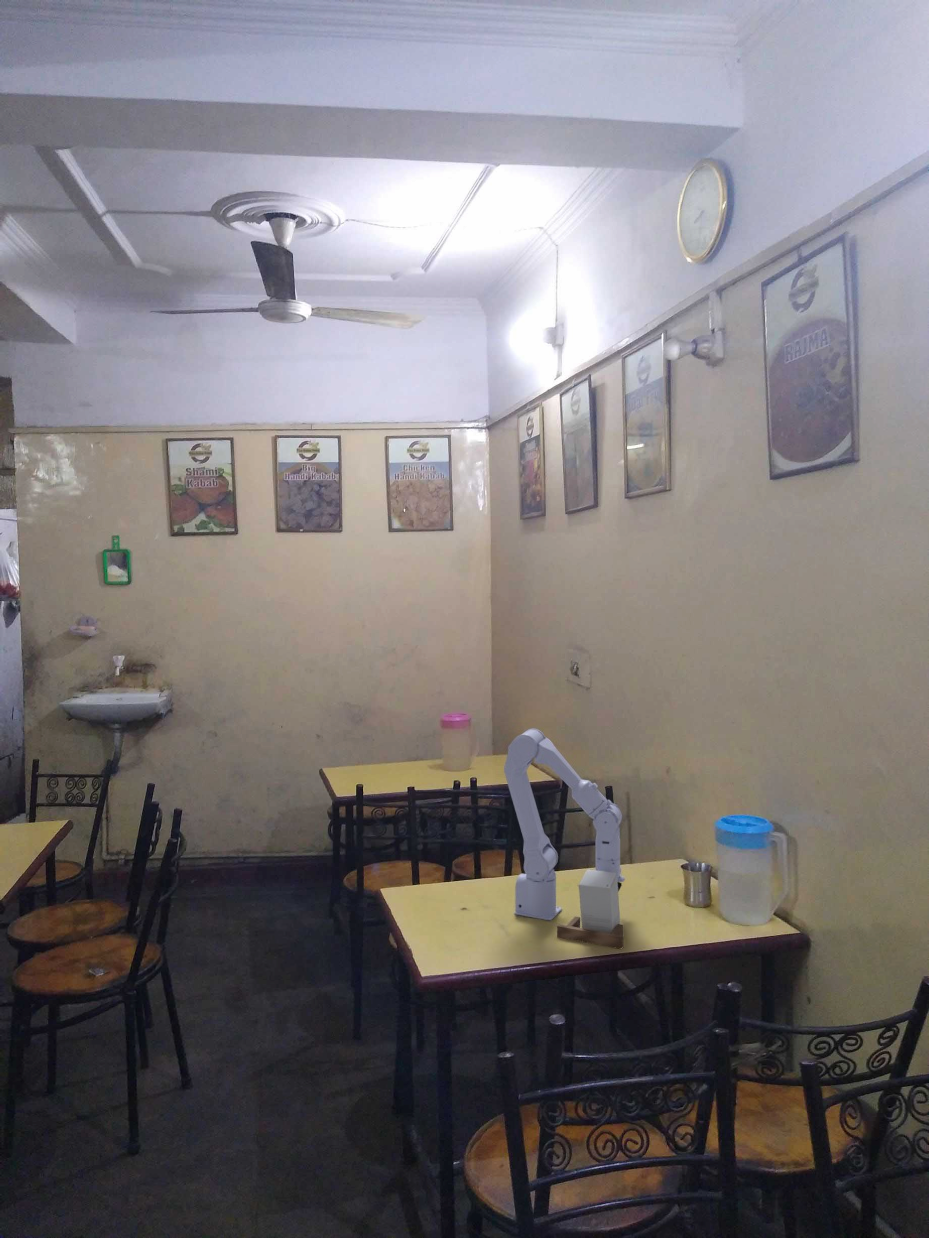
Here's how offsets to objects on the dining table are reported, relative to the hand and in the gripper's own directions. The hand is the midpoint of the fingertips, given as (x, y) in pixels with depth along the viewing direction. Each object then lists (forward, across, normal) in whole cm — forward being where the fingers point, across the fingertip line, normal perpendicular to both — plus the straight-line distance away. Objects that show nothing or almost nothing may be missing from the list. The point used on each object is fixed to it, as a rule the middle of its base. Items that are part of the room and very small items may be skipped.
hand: (607, 913), depth 211 cm
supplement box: (+1, -6, 0) cm, 6 cm away
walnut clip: (+2, -10, 0) cm, 10 cm away
